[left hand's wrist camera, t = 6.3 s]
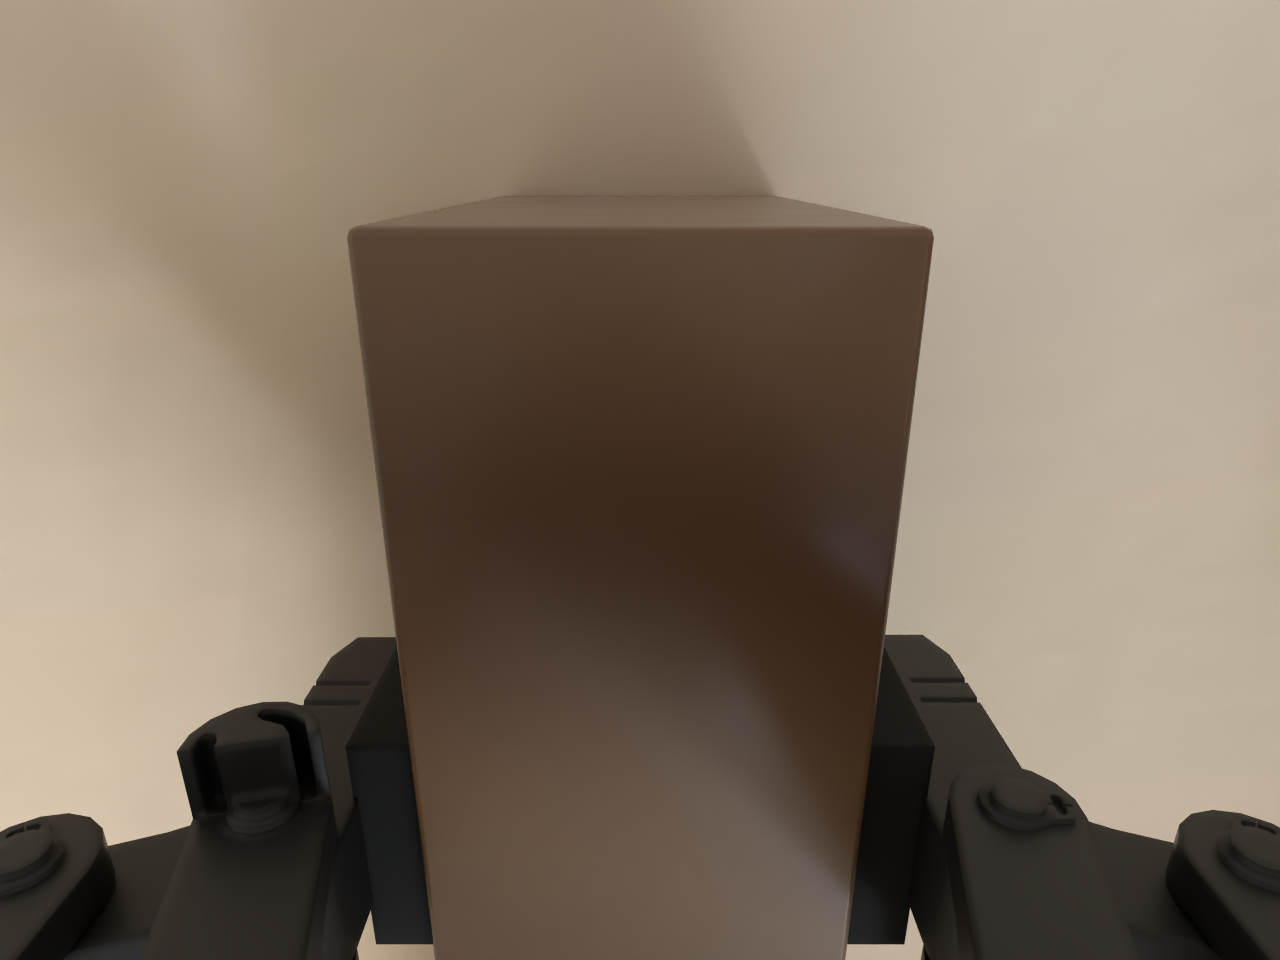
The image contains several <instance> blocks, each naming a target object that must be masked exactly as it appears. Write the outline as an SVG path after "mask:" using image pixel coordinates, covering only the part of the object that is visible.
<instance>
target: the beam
mask: <svg viewBox="0 0 1280 960" xmlns="http://www.w3.org/2000/svg"><path fill="white" fill-rule="evenodd" d="M347 240H348V248H349V257H350V265H351V273H352V281H353V289H354V298H355V306H356V314H357V322H358V330H359V339H360V347H361V355H362V363H363V371H364V379H365V388H366V396H367V404H368V412H369V420H370V429H371V437H372V445H373V453H374V461H375V469H376V478H377V486H378V494H379V502H380V510H381V519H382V527H383V535H384V543H385V551H386V560H387V568H388V576H389V584H390V592H391V600H392V609H393V617H394V625H395V633H396V641H397V650H398V658H399V666H400V674H401V682H402V690H403V699H404V707H405V715H406V723H407V731H408V740H409V748H410V756H411V764H412V772H413V780H414V789H415V797H416V805H417V813H418V821H419V830H420V838H421V846H422V854H423V862H424V871H425V879H426V887H427V895H428V903H429V911H430V920H431V928H432V936H433V944H434V952H435V960H845V957H846V949H847V941H848V932H849V924H850V916H851V908H852V900H853V892H854V884H855V875H856V867H857V859H858V851H859V843H860V835H861V827H862V818H863V810H864V802H865V794H866V786H867V778H868V770H869V761H870V753H871V745H872V737H873V729H874V721H875V713H876V704H877V696H878V688H879V680H880V672H881V664H882V656H883V648H884V639H885V631H886V623H887V615H888V607H889V599H890V591H891V582H892V574H893V566H894V558H895V550H896V542H897V534H898V525H899V517H900V509H901V501H902V493H903V485H904V477H905V468H906V460H907V452H908V444H909V436H910V428H911V420H912V411H913V403H914V395H915V387H916V379H917V371H918V363H919V354H920V346H921V338H922V330H923V322H924V314H925V306H926V297H927V289H928V281H929V273H930V265H931V257H932V249H933V240H934V236H933V233H932V230H931V229H929V228H927V227H924V226H919V225H914V224H910V223H905V222H900V221H895V220H890V219H885V218H880V217H875V216H870V215H865V214H860V213H856V212H851V211H846V210H841V209H836V208H831V207H826V206H821V205H816V204H811V203H806V202H801V201H797V200H792V199H787V198H782V197H777V196H503V197H499V198H494V199H489V200H484V201H479V202H474V203H469V204H464V205H459V206H454V207H450V208H445V209H440V210H435V211H430V212H425V213H420V214H415V215H410V216H405V217H400V218H396V219H391V220H386V221H381V222H376V223H371V224H366V225H361V226H356V227H354V228H352V229H350V230H349V233H348V236H347Z"/></svg>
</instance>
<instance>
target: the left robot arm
mask: <svg viewBox="0 0 1280 960" xmlns="http://www.w3.org/2000/svg"><path fill="white" fill-rule="evenodd" d="M964 679H965V678H964V677H963V675H962V674H961V672H960V670H959V669H958V667H957V666H956V664H955V663H954V661H953V659H952V658H951V656H950V655H949V654H948V653H946V652H945V651H944V650H942V649H941V648H940V647H938V646H937V645H935V644H934V643H933V642H931V641H930V640H929V639H927V638H926V637H925V636H923V635H885V639H884V648H883V656H882V664H881V672H880V680H879V688H878V696H877V704H876V713H875V721H874V729H873V737H872V745H871V753H870V761H869V770H868V778H867V786H866V794H865V802H864V810H863V818H862V827H861V835H860V843H859V851H858V859H857V867H856V875H855V884H854V892H853V900H852V908H851V916H850V924H849V932H848V941H847V944H904V942H905V936H906V930H907V923H908V917H909V911H910V908H911V911H912V913H913V916H914V919H915V921H916V924H917V927H918V930H919V932H920V935H921V938H922V941H923V943H924V945H923V951H922V957H921V960H1280V828H1279V827H1277V826H1276V825H1274V824H1272V823H1268V822H1265V821H1262V820H1260V819H1256V818H1253V817H1250V816H1247V815H1244V814H1241V813H1233V812H1225V811H1217V810H1210V811H1205V812H1199V813H1194V814H1191V815H1190V816H1189V817H1187V818H1186V819H1185V820H1184V821H1183V822H1182V823H1181V824H1180V825H1179V828H1178V831H1177V834H1176V838H1175V841H1174V843H1171V842H1167V841H1162V840H1158V839H1154V838H1149V837H1145V836H1141V835H1136V834H1132V833H1128V832H1123V831H1119V830H1115V829H1111V828H1108V827H1105V826H1101V825H1098V824H1095V823H1092V822H1089V821H1088V819H1087V817H1086V816H1085V814H1084V812H1083V811H1082V809H1081V808H1080V806H1079V805H1078V803H1077V802H1076V800H1075V799H1074V798H1073V797H1071V796H1070V795H1069V794H1068V793H1067V792H1065V791H1064V790H1063V789H1062V788H1061V787H1059V786H1058V785H1057V784H1056V783H1054V782H1052V781H1050V780H1048V779H1046V778H1044V777H1042V776H1040V775H1038V774H1036V773H1034V772H1032V771H1029V770H1025V769H1022V768H1021V766H1020V765H1019V763H1018V762H1017V760H1016V759H1015V757H1014V755H1013V754H1012V752H1011V751H1010V749H1009V748H1008V746H1007V744H1006V743H1005V741H1004V740H1003V738H1002V736H1001V735H1000V733H999V732H998V730H997V729H996V727H995V725H994V724H993V722H992V721H991V719H990V718H989V716H988V714H987V713H986V711H985V710H984V708H983V707H982V705H981V703H977V697H976V696H975V694H974V692H973V691H972V689H971V688H970V686H969V685H968V683H965V681H964ZM177 755H178V759H179V763H180V767H181V771H182V775H183V779H184V783H185V787H186V792H187V796H188V800H189V804H190V808H191V812H192V816H193V821H192V823H191V825H190V826H187V827H184V828H180V829H177V830H174V831H171V832H167V833H163V834H159V835H154V836H150V837H146V838H141V839H137V840H133V841H128V842H124V843H120V844H115V845H111V846H107V842H106V839H105V835H104V832H103V829H102V827H101V826H99V825H98V824H97V823H96V822H95V821H94V820H93V819H92V818H90V817H86V816H81V815H75V814H70V813H68V814H59V815H51V816H43V817H39V818H36V819H33V820H29V821H26V822H23V823H20V824H17V825H14V826H11V827H9V828H7V829H5V830H3V831H1V832H0V960H359V957H358V951H357V946H358V943H359V941H360V938H361V935H362V932H363V930H364V927H365V924H366V921H367V919H368V916H369V913H370V910H371V914H372V920H373V927H374V933H375V939H376V944H433V936H432V928H431V920H430V911H429V903H428V895H427V887H426V879H425V871H424V862H423V854H422V846H421V838H420V830H419V821H418V813H417V805H416V797H415V789H414V780H413V772H412V764H411V756H410V748H409V740H408V731H407V723H406V715H405V707H404V699H403V690H402V682H401V674H400V666H399V658H398V650H397V641H396V637H358V638H357V639H356V640H354V641H353V642H351V643H350V644H349V645H347V646H346V647H345V648H343V649H342V650H341V651H339V652H338V653H337V654H335V655H334V656H333V657H331V659H330V660H329V662H328V663H327V665H326V667H325V668H324V670H323V671H322V673H321V674H320V676H319V678H318V679H317V681H316V686H313V687H312V689H311V690H310V692H309V694H308V695H307V697H306V698H305V700H304V705H297V704H294V703H290V702H262V703H257V704H253V705H249V706H244V707H240V708H236V709H233V710H231V711H229V712H227V713H224V714H222V715H220V716H218V717H215V718H213V719H211V720H209V721H208V722H206V723H205V724H204V725H202V726H201V727H200V728H198V729H197V730H195V731H194V732H193V733H191V734H190V735H189V736H188V737H187V739H186V740H185V741H184V743H183V744H182V745H181V747H180V748H179V749H178V751H177Z"/></svg>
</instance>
